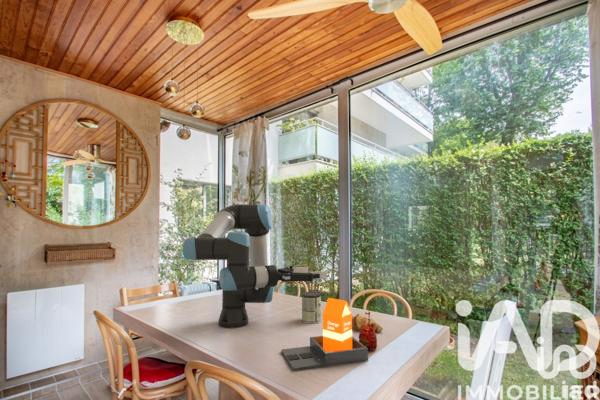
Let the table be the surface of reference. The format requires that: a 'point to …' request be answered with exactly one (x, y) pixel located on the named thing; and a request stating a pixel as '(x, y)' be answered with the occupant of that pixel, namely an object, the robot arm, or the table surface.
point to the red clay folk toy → (368, 336)
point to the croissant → (364, 323)
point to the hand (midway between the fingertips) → (316, 272)
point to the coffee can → (311, 307)
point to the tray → (323, 355)
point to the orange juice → (337, 326)
